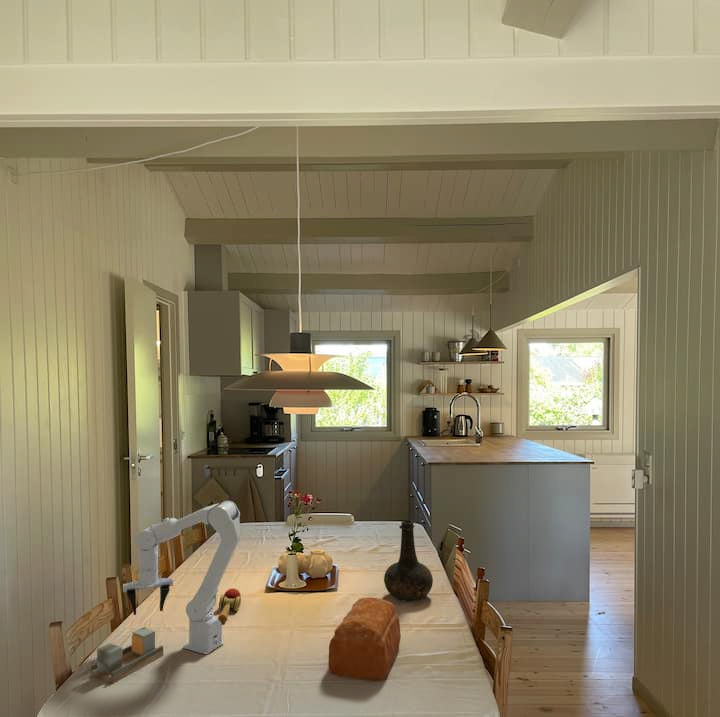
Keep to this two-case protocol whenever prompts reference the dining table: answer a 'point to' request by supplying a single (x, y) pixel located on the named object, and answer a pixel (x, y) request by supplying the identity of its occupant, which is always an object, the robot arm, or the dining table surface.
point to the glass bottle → (408, 570)
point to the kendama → (229, 603)
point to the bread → (365, 641)
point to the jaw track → (125, 661)
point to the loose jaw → (143, 641)
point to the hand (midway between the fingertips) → (148, 611)
